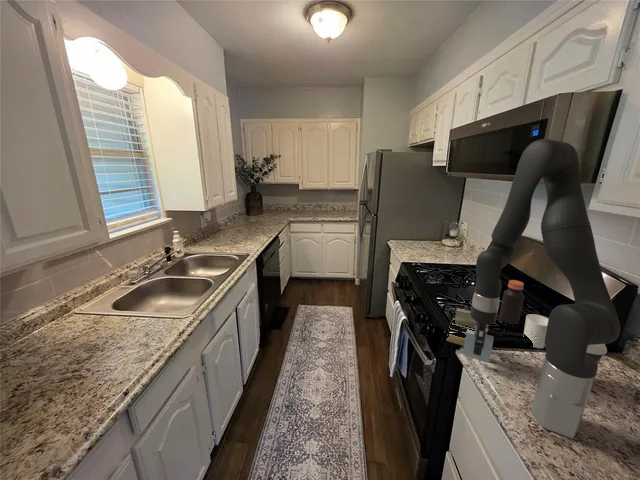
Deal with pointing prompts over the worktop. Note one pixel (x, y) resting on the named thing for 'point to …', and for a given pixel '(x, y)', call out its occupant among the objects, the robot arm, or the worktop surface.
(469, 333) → the pale blue-grey block
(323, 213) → the worktop surface
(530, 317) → the white cup
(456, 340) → the dish rack
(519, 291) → the bottle
